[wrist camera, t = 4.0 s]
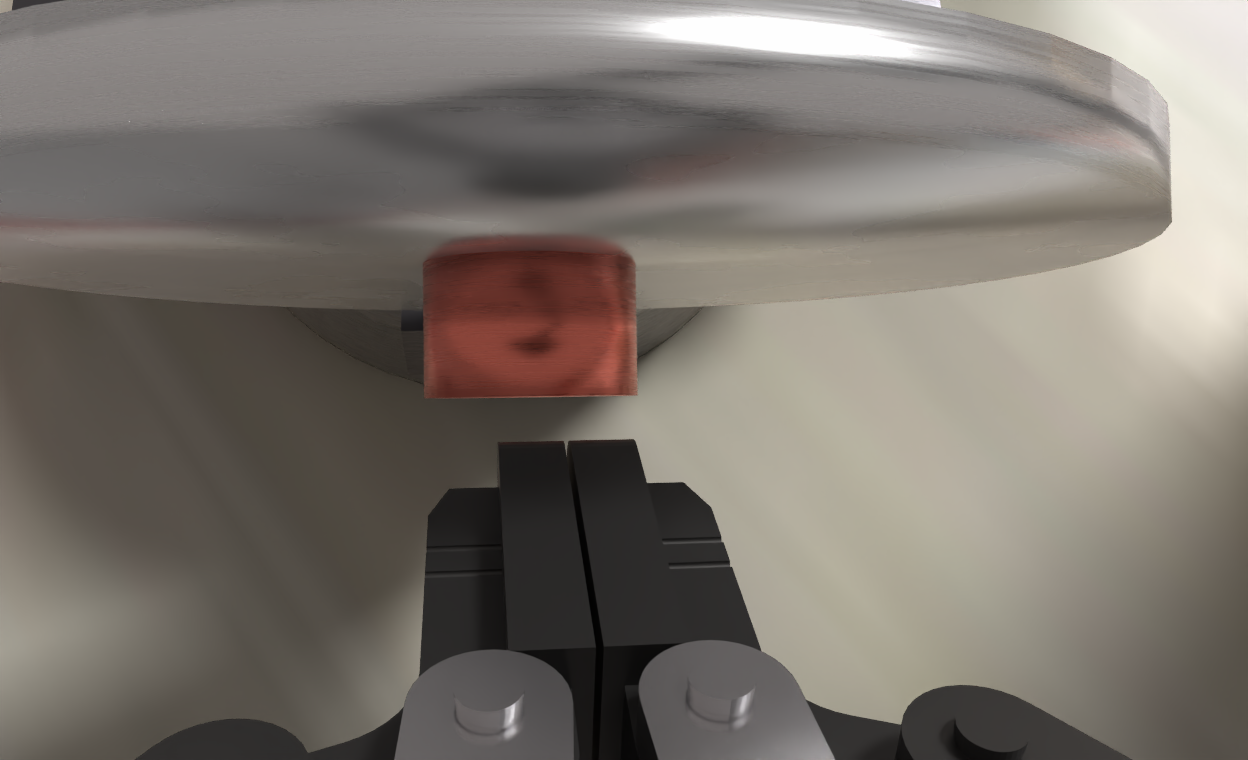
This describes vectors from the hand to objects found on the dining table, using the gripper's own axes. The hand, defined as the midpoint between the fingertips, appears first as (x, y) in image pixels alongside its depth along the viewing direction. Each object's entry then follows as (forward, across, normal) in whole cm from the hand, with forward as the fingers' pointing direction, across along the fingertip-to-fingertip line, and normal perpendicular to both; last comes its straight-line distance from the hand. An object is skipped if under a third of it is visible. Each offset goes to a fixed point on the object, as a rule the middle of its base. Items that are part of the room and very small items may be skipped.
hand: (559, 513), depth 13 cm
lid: (+6, 0, -2) cm, 7 cm away
